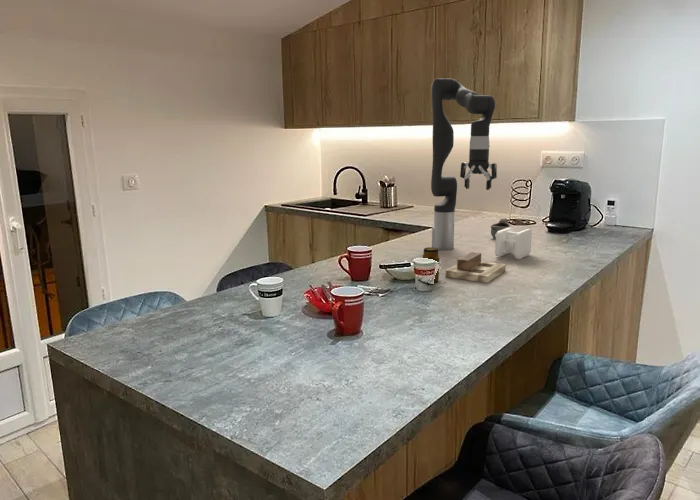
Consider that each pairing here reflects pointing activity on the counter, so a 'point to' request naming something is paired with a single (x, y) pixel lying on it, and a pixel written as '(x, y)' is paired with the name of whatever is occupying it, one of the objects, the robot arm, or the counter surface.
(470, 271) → the keyhole board
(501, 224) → the mug
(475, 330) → the counter surface
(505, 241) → the cable organizer
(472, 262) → the walnut bar
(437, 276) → the condiment
